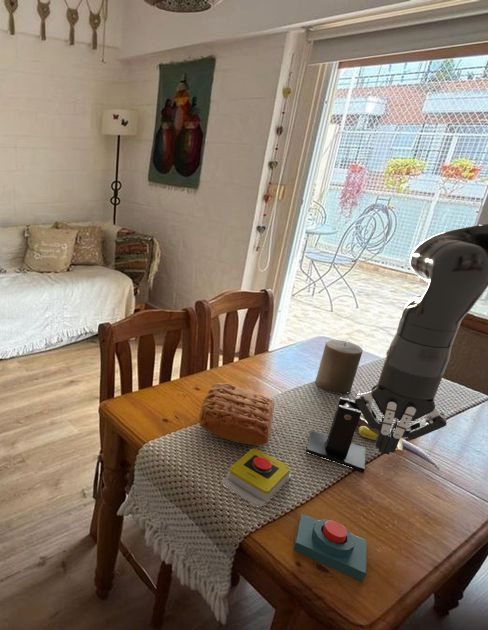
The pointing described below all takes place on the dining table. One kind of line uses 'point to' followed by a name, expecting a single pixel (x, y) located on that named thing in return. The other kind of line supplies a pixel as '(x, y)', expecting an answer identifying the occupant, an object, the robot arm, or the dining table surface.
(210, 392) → the inscribed clay slab
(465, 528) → the dining table surface
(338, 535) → the button
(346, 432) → the black lever stand
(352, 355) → the pillar candle
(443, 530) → the dining table surface
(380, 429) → the robot arm
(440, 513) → the dining table surface
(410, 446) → the knife
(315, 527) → the button block
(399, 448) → the lever
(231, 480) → the emergency button
